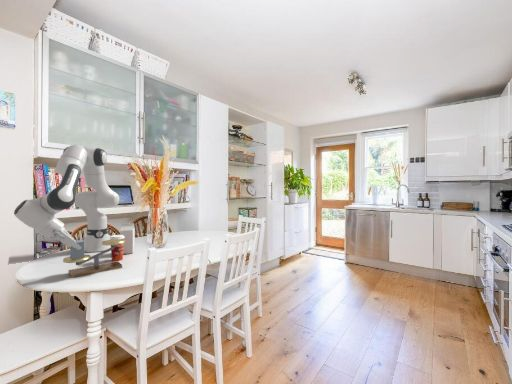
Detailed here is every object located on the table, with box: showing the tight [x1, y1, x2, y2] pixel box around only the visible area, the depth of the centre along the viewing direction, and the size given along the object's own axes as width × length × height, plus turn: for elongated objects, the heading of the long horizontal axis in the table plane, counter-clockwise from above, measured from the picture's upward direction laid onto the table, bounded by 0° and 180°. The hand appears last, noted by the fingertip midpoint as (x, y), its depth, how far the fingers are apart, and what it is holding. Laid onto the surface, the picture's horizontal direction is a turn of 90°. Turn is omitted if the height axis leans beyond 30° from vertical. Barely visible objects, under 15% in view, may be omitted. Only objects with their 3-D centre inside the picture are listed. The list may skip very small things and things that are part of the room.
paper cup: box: [110, 234, 125, 262], centre depth 145 cm, size 8×8×14 cm
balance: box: [62, 239, 126, 279], centre depth 127 cm, size 11×27×14 cm, turn 133°
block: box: [69, 239, 85, 260], centre depth 121 cm, size 5×5×8 cm
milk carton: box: [119, 222, 136, 255], centre depth 160 cm, size 7×7×19 cm
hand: (78, 246), depth 122 cm, fingers open, 8 cm apart
